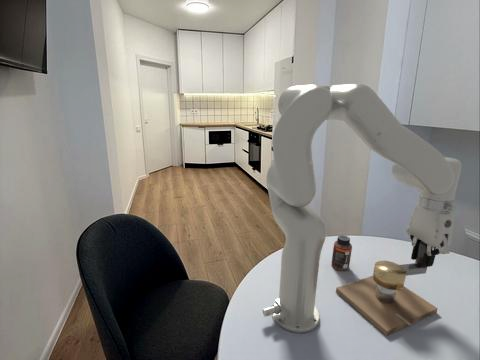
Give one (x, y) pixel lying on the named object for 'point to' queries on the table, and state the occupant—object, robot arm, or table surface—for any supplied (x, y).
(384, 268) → the brass hub lever
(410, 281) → the table surface
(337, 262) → the supplement bottle
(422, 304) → the walnut base
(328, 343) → the table surface
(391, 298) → the steel post
